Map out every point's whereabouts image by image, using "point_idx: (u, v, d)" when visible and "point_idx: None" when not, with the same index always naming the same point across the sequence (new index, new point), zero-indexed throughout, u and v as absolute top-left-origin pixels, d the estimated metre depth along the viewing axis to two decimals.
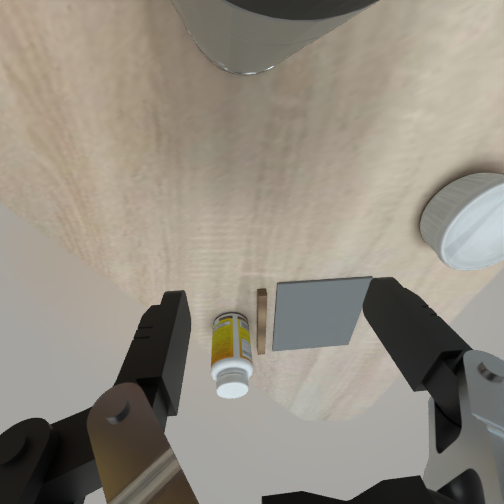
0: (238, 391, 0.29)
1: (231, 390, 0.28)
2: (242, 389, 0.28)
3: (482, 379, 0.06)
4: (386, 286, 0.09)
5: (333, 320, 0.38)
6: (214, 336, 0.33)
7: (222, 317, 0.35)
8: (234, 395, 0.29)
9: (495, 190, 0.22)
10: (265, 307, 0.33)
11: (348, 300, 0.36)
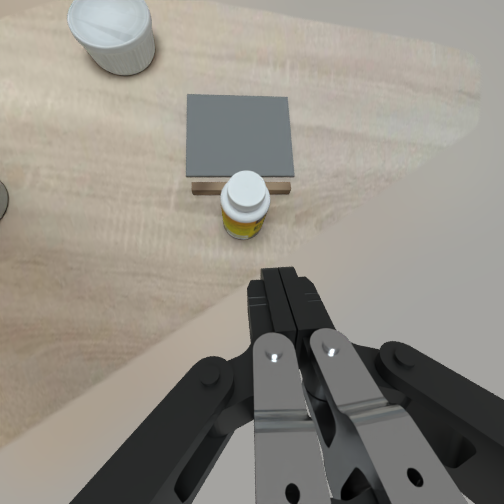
0: (249, 181, 0.23)
1: (245, 188, 0.23)
2: (245, 176, 0.23)
3: (316, 352, 0.07)
4: (282, 274, 0.10)
5: (244, 118, 0.36)
6: (232, 230, 0.29)
7: (225, 227, 0.32)
8: (258, 186, 0.23)
9: (74, 29, 0.32)
10: (208, 183, 0.32)
11: (214, 109, 0.36)
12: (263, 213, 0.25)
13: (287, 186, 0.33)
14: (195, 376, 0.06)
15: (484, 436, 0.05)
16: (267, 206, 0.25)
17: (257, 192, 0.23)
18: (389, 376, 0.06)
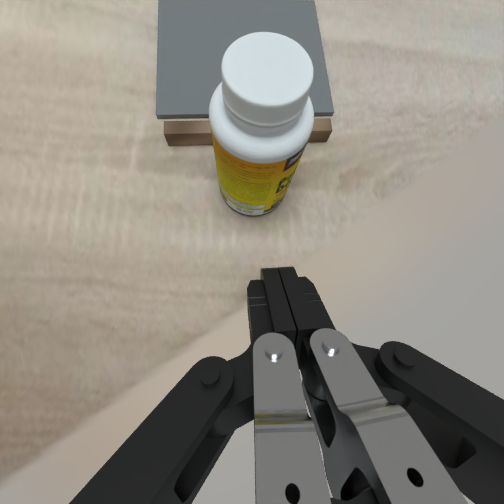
0: (272, 52, 0.10)
1: (265, 68, 0.10)
2: (264, 43, 0.10)
3: (317, 352, 0.07)
4: (282, 274, 0.10)
5: (248, 30, 0.23)
6: (236, 195, 0.16)
7: None
8: (294, 62, 0.10)
9: None
10: (193, 122, 0.19)
11: (202, 18, 0.23)
12: (302, 140, 0.12)
13: (326, 125, 0.20)
14: (195, 376, 0.06)
15: (484, 436, 0.05)
16: (310, 126, 0.12)
17: (294, 75, 0.10)
18: (389, 376, 0.06)
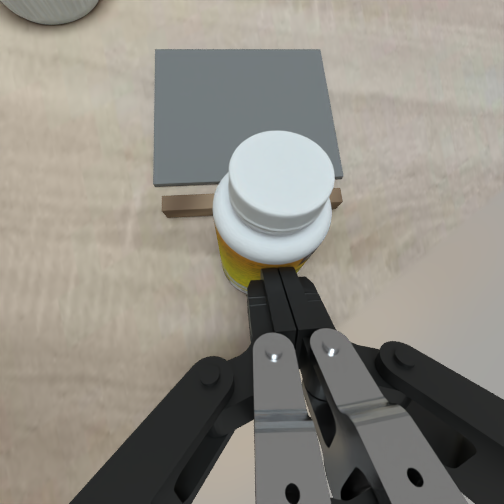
0: (286, 153, 0.09)
1: (279, 171, 0.08)
2: (277, 143, 0.09)
3: (317, 352, 0.07)
4: (282, 274, 0.10)
5: (251, 84, 0.22)
6: (242, 281, 0.14)
7: None
8: (312, 163, 0.09)
9: None
10: (193, 196, 0.18)
11: (202, 72, 0.22)
12: (321, 238, 0.10)
13: (335, 196, 0.18)
14: (195, 376, 0.06)
15: (484, 436, 0.05)
16: (329, 221, 0.10)
17: (313, 179, 0.08)
18: (389, 376, 0.06)
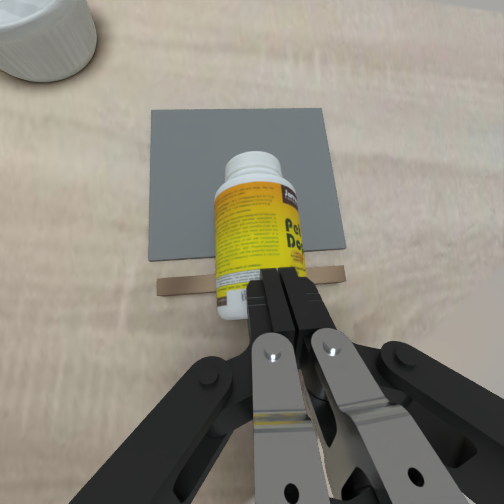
0: None
1: None
2: None
3: (318, 352, 0.07)
4: (283, 274, 0.10)
5: (250, 147, 0.21)
6: (239, 255, 0.12)
7: (221, 305, 0.13)
8: None
9: None
10: (190, 278, 0.17)
11: (199, 134, 0.21)
12: (288, 182, 0.14)
13: (339, 274, 0.18)
14: (194, 376, 0.06)
15: (485, 436, 0.05)
16: None
17: None
18: (390, 376, 0.06)
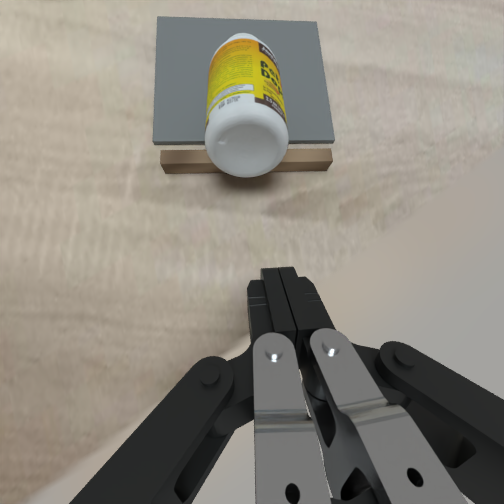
0: None
1: None
2: None
3: (317, 352, 0.07)
4: (282, 274, 0.10)
5: None
6: (219, 85, 0.14)
7: (205, 130, 0.14)
8: None
9: None
10: (190, 152, 0.19)
11: (201, 39, 0.22)
12: (268, 48, 0.17)
13: (326, 155, 0.19)
14: (195, 376, 0.06)
15: (484, 436, 0.05)
16: None
17: None
18: (389, 376, 0.06)
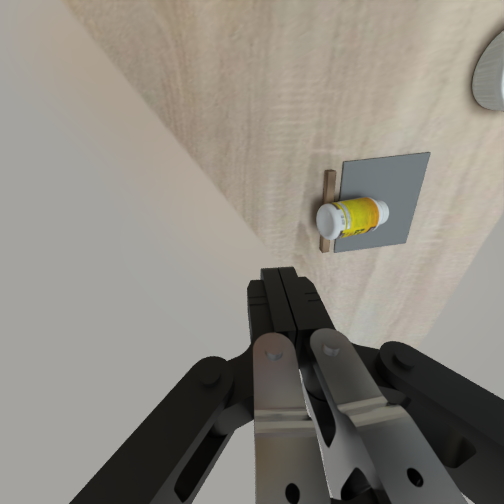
0: None
1: None
2: None
3: (317, 352, 0.07)
4: (282, 274, 0.10)
5: (392, 209, 0.40)
6: (354, 213, 0.33)
7: (335, 207, 0.33)
8: None
9: None
10: (333, 187, 0.36)
11: (407, 182, 0.38)
12: (375, 228, 0.36)
13: (325, 250, 0.41)
14: (195, 376, 0.06)
15: (484, 436, 0.05)
16: None
17: None
18: (389, 376, 0.06)
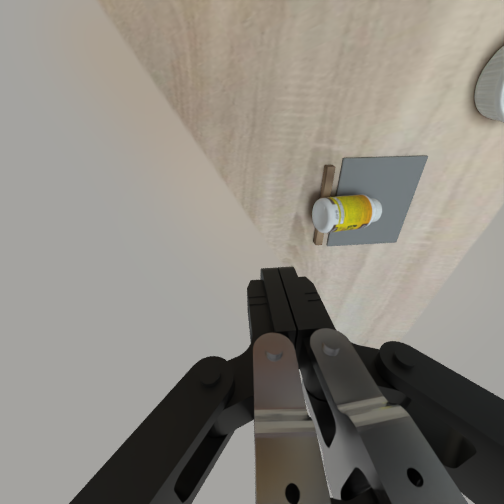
0: None
1: None
2: None
3: (317, 352, 0.07)
4: (282, 274, 0.10)
5: (386, 208, 0.42)
6: (348, 209, 0.34)
7: (330, 201, 0.34)
8: None
9: None
10: (331, 182, 0.37)
11: (403, 183, 0.39)
12: (367, 225, 0.38)
13: (318, 242, 0.43)
14: (195, 376, 0.06)
15: (484, 436, 0.05)
16: None
17: None
18: (389, 376, 0.06)
